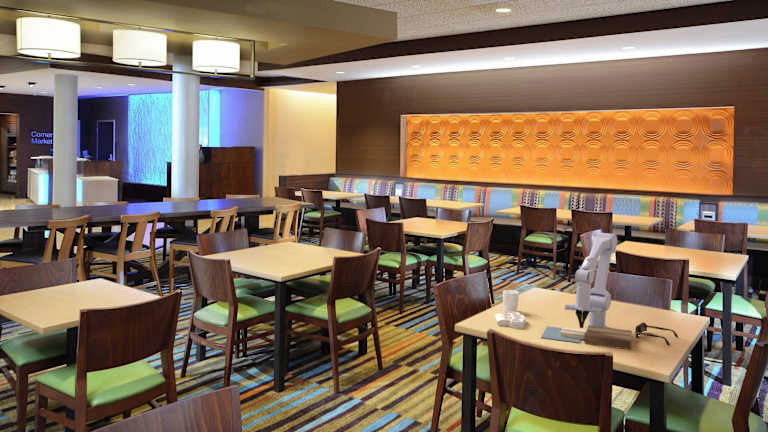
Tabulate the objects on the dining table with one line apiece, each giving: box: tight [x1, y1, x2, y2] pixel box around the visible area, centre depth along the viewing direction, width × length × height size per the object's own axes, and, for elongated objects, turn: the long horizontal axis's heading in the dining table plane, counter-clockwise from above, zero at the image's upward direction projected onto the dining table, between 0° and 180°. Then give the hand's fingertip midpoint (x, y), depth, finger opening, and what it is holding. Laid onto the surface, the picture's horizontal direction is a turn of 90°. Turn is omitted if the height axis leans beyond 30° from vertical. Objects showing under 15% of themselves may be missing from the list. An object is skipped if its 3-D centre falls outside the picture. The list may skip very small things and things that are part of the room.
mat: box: [540, 326, 582, 344], centre depth 266 cm, size 18×16×1 cm
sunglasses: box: [634, 322, 679, 346], centre depth 264 cm, size 14×15×5 cm
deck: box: [584, 324, 633, 350], centre depth 259 cm, size 16×18×4 cm
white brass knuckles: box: [494, 311, 529, 330], centre depth 284 cm, size 3×18×15 cm
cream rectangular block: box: [560, 327, 587, 340], centre depth 264 cm, size 7×10×2 cm
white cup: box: [502, 289, 520, 313], centre depth 304 cm, size 8×8×10 cm
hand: (581, 327), depth 263 cm, fingers closed
